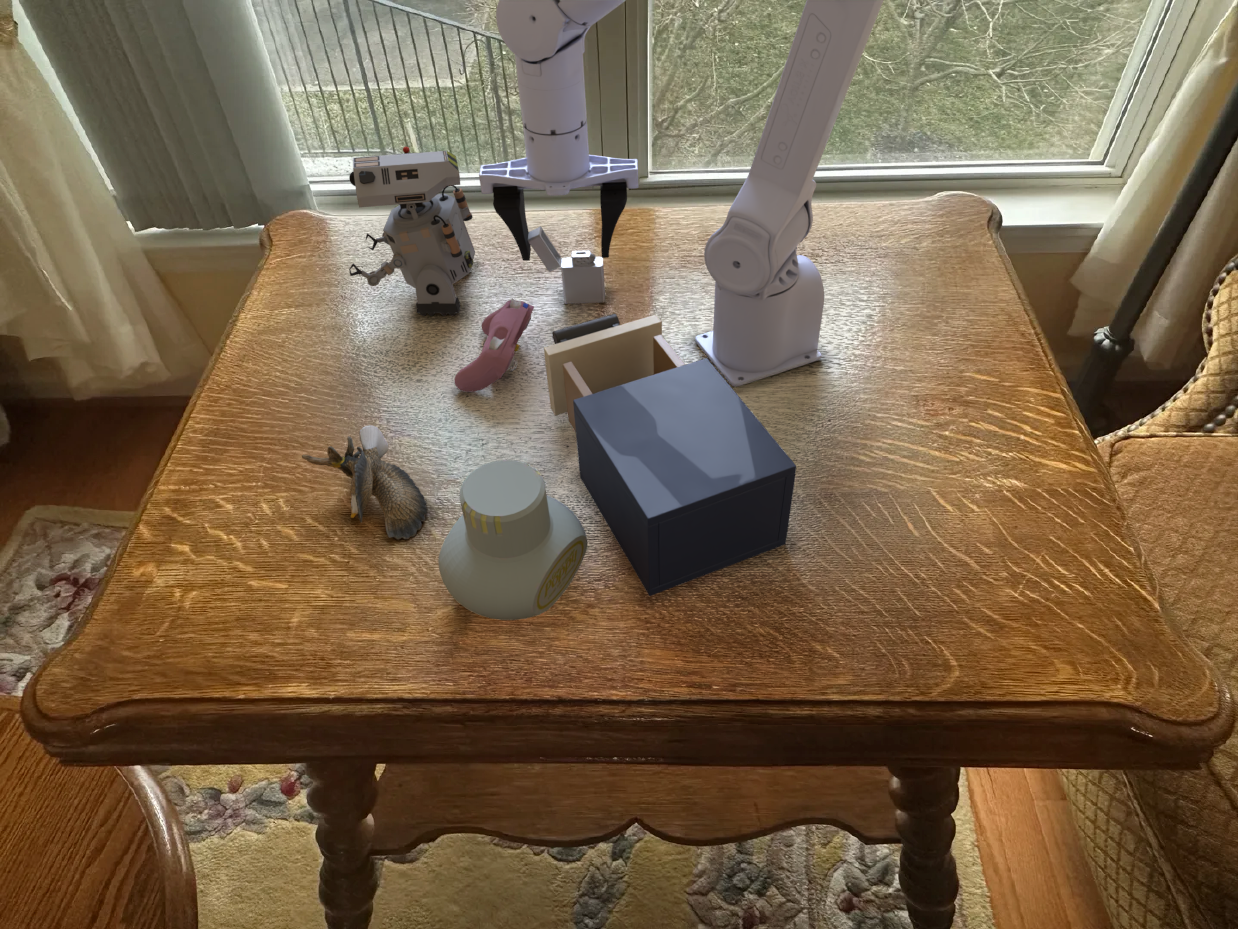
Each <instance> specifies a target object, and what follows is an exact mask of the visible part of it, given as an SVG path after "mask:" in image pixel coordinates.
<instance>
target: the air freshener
mask: <svg viewBox="0 0 1238 929" xmlns="http://www.w3.org/2000/svg"><path fill="white" fill-rule="evenodd" d="M458 496H459V502H460V508H461V511H462V514H461V515H460V517H459V518H458V519H457V520H456V522H455V523H454V524H453V526H452V527H451V529H450V530H449V532H448V534H447V535H446V537H445V538H444V541H443V543H442V544H441V548H440V550H439V554H438V559H437V563H438V571H439V575H440V578H441V581H442V583H443V585H444V587H445V588H446V590H447V592H448V593H449V595H450V596H451V597H452V598H453V599H454V600H455V601H456V602H457V603H458V604H460V606H462V607H464V608H465V609H466V610H468V611H470V612H471V613H474V614H476V615H478V616H481V617H484V618H488V619H491V620H497V621H498V620H500V621H519V620H525V619H529V618H533V617H537V616H539V615H542V614H544V613H546V612H547V611H549V609H551V608H552V607H553V606H554V605H555V604H556V603H557V601H559V599H560V598H561V597H563V596H562V595H563V594H564V593H565V592H566V590H567V589H568V588H569V586H570V584H571V583H572V581H573V580H574V578H575V577H576V575H577V573H578V571H579V570H580V567H581V565H582V563H583V561H584V559H585V556H586V553H587V549H588V537H587V533H586V530H585V528H584V525H583V524H582V522H581V520H580V519H579V517H577V515H576V514H575V512H574V511H572V510H571V509H570V507H568V506H567V505H566V504H564V503H563V502H561V501H560V500H558V499H557V498H555V497H553V496H550V495H548V493H547V489H546V483H545V479H544V477H543V475H542V474H541V473H540V471H539V470H538V469H536V468H535V467H533V466H531V465H530V464H529V463H526V462H524V461H518V460H515V459H499V460H494V461H490V462H486V463H485V464H482V465H480V466H479V467H477V468H475V469H474V470H472V471H471V472H470V473H469V474H468V475H467V476H466V478H464V480H463V481H462V484H461V486H460V489H459V495H458Z"/></svg>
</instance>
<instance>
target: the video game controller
mask: <svg viewBox="0 0 1238 929" xmlns="http://www.w3.org/2000/svg"><path fill="white" fill-rule="evenodd" d="M534 309H535V306H534V305H532V304H529V303H527V302H525V301H523V300H516V299H514V298H513V297H512V298H511V299H509V300H507V301H506V302H505V303H504V305H502V306H501V307H500V308H498V309H496V310H495V311H493V312H491V313H490V314H488V315H487V316H486V317H485V318H484V319H483V321H482V322H481V330H482V332H483V333H484V334H485V336H486V339H485V341H484V345H483V346H482V350H481V352H480V354H479V355H478V356H477V357H476V358H475V359H474V360H473V361H472V362H470V363H469V364H467V365H466V366H464V367H463V368H461V369H459V370H458V372H457V373H456V374H455V376H454V386H455V387H456V388H457V389H458V390H459V391H461V392H466V393H474V392H478V391H482V390H484V389H486V388H488V387H490V386H491V385H493V384H494V383H495V382H497V381H498V380H501V379H502V377H503V375H504V374H505V373H507V371H508V370H510V372H513V371H515V370H516V368H517V366H518V364H519V361H518V358H516V359H515V357H514V356H515V353H517V352H519V350H520V344H518V342H519V340H520V338H521V337H522V335H523V333H524V332H525V331H526V330H527V329H528V326H529V325H530V322H531V320H532V314H533V312H534V311H533V310H534Z"/></svg>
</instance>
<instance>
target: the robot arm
mask: <svg viewBox="0 0 1238 929" xmlns="http://www.w3.org/2000/svg"><path fill="white" fill-rule="evenodd" d="M626 1H627V0H498V1H497V5H496V11H495V22H496V26H497V29H498V33H499V35H500V37H501V39H502V41H503V42H504V44H505V46H506V47H507V48H508V49H509V51H511V53H513V54H514V59H515V70H516V77H517V88H518V97H519V106H520V115H521V123H522V131H523V142H524V148H525V149H524V150H525V157H522V158H518V159H512V160H509V161H504V162H497V163H492V164H480V166H479V172H478V179H479V184H480V191H481V194H482V195H491V194H493V202H492V206H493V209H494V211H495V213H496V214H497V215H498V217H500V219H501V220H502V221H503V223H504V224H505V225H506V227H507V228H508V230H509V231H510V233H511V235H512V236H513V239H514V240H515V243H516V245H517V247H518V249H519V253H520V256H521V259H522V261H523V262H530V261H531V252H532V249H531V248H532V246H531V245H530V244H529V242H528V234H529V232H530V230H529V226H528V222H527V215H526V205H525V191H524V190H531V189H532V190H533V189H534V190H541V191H545V193H546V195H548V196H565V195H568V194H570V190H574V189H579V188H583V187H584V188H586V187H599V188H600V190H599V191H600V194H599V196H600V198H599V202H600V217H601V234H600V240H601V241H600V242H601V244H600V247H601V248H600V249H601V250H600V252H601V257H602V258H603V259H609V257H610V247H611V243H612V238H613V235H614V232H615V229H616V227H617V224H618V221H619V219H620V218H621V215H622V213H623V212H624V210H625V209H626V208H625V207H626V205H627V202H628V189H638V188H639V162H638V159H637V158H617V157H609V156H604V155H603V156H602V155H595V154H590V148H589V133H588V132H589V130H588V118H587V116H588V115H587V101H586V100H587V99H586V97H587V96H586V82H585V68H584V66H585V65H584V53H585V52H586V49H585V48H586V46H585V45H586V44H585V38H586V35H587V34H588V31H589V30H590V28H591V27H592V26H593V25H594V24H596V23H597V22H599V21H600V20H601V19H603V18H604V17H605V16H607V15H608V14H610V13H611V12H612V11H614V10H615V9H617V8H618V7H619V6H621V5H622V4H623V3H625V2H626ZM884 1H885V0H805V4H804V7H803V10H802V13H801V15H800V19H799V22H798V25H797V28H796V31H795V34H794V37H793V40H792V44H791V46H790V49H789V52H788V55H787V58H786V61H785V64H784V67H783V70H782V73H781V76H780V79H779V82H778V85H777V88H776V91H775V94H774V97H773V100H772V103H771V105H770V109H769V112H768V115H767V117H766V121H765V124H764V127H763V130H762V133H761V136H760V139H759V142H758V145H757V148H756V151H755V154H754V157H753V160H752V163H751V166H750V169H749V172H748V174H747V176H746V178H745V180H744V183H743V185H742V186H741V188H740V189H739V191H738V193H737V195H736V197H735V199H734V200H733V202H732V204H731V205H730V207H729V209H728V212H727V215H726V217H725V220H724V223H723V224H722V225H721V227H719V228H718V229H717V230H716V231H715V232H713V233H712V234H711V235H710V237H709V238H708V240H707V241H706V243H705V247H704V251H703V253H704V254H703V256H704V257H703V258H704V264H705V266H706V269H707V271H708V273H709V275H710V277H711V278H712V279H713V280H714V299H713V300H714V302H713V303H714V304H713V326H712V327H713V328H712V330H711V331H708V332H705V333H701V334H698V335H695V338H694V341H695V343H696V345H697V346H698V347H699V349H701V351H702V352H703V353H704V354H705V355H706V356H707V359H708V360H709V361H710V362H711V363H712V365H713V366H714V367H715V368H716V369H717V371H718V372H719V373H720V374H721V375H722V377H723V378H724V379H725V380H726V381H727V383H728V384H729V385H730V386H731V387H740V386H744V385H746V384H750V383H753V382H756V381H759V380H762V379H766V378H768V377H771V376H774V375H778V374H781V373H785V372H787V371H791V370H792V369H796V368H799V367H801V366H802V367H803V366H805V365H808V364H811V363H814V362H818V361H820V360H821V359H822V353H821V351H820V350H819V349H818V348H819V341H820V340H819V339H820V333H821V326H822V319H823V312H824V305H825V288H824V282H823V279H822V276H821V274H820V272H819V268H817V266H816V264H815V263H814V262H813V261H812V260H811V259H810V258H809V257H808V256H805V255H803V254H797V251H798V246H799V244H800V243H802V242H803V241H804V240H805V238H806V237H807V236H808V235H809V234H810V232H811V230H812V226H813V223H814V214H813V207H812V200H813V197H814V196H813V195H814V193H815V191H816V188H817V182H816V180H814V176H815V175H816V172H817V169H818V167H819V165H820V162H821V159H822V157H823V154H824V151H825V149H826V147H827V145H828V143H829V142H828V141H829V139H830V137H831V134H832V131H833V129H834V126H835V124H836V121H837V119H838V117H839V115H840V111H841V109H842V106H843V104H844V101H845V99H846V97H847V94H848V91H849V89H850V86H851V83H852V81H853V79H854V76H855V74H856V71H857V69H858V66H859V63H860V62H861V58H862V56H863V54H864V50H865V49H866V46H867V43H868V41H869V39H870V36H871V34H872V32H873V29H874V26H875V24H876V21H877V18H878V16H879V13H880V10H881V9H882V6H883V3H884Z"/></svg>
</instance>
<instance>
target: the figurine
mask: <svg viewBox="0 0 1238 929" xmlns="http://www.w3.org/2000/svg"><path fill="white" fill-rule="evenodd" d="M410 150H411V149H410V147H408V146H404V147H402V152H403V153H396V154H384V155H382V154H381V155H371V156H357V157H352V170H353V171H351V172H350V174H349V178H348V179H349V183H350V184H351V185H352V186H353V187H355V194H356V199H357V205H358V208H371V207H382V206H394V205H395V206H394V208H392V209H391V210H390V212H389V214H388V217H387V219H386V222H385V224H384V227H383V229H382V231H383V232H382V235H381V237H376V238H375V237H374V236H372V235H371V234H369V233H368V232H367V233H366V236H365V240H367V239H368V238H370V239H371V240H372V241H373V244H372V247H370V246H367V248H368V249H370V250H371V251H374V250H375V248H376V247H377V244H381V243H385V244H386V245H387V246H389V247H390V250H391V252H392V254H393V255H392V258H391V260H390V261H389V262H388V261H387V260H386V261H384V262H382V264H381V265H380V267H378V268H377V269H375V270H372V271H370V272H367V271H365V270H361V269H359V267H358V266H357V265H356V264H355V263H354V262H353V263H351V266H350V267H349V269H348V271H349V276H350V277H353V276H356V275H357V276H360V275H361V276H362V277H363V278H365V279H366V281H367V284H368V286H370V287H375V286H378V285H379V284H380V282H381V280H382V279H384V278H386V277H387V276H391V275H392V274H393V273H395V270H396V269H397V270H400V271H401V274H402V276H403V278H404V281H405V283H406V285H408V286H410V287H412V288H414V289H415V298H416V303H415V310H416V314H419V315H420V316H422V317H425V316H426V315H427V314H428V316H431V317H433V316H434V315H435V314H440V315H441V316H442V317H443V316H444V317H445V316H447V315H449V316H452V317H453V316H455V315H456V314H460V311H461V306H462V305H461V303H460V300H459V297H457V295H456V292H455V287H454V284H455V283H457V282H459V280H462V279H463V278H464V277H466V276H468V275H469V274H470V273H471V270H472V268H473V265H474V259H475V255H476V250H475V247H474V244H473V242H472V239H471V235H470V233H469V231H468V228H467V225H466V222H469V221H471V220H472V219H473V218H474V216H473V214H472V213H471V210H470V207H469V204H468V202H467V198H466V196H465V194H464V191H463V188H462V187H461V188H459V187H458V188H457V186H461V176H460V169H459V165H458V159H457V156H456V155H455V154H453V153H451V152H449V151H448V150H438V151H423V152H410ZM449 187H452V188H454V190H453V191H452V193H453V196H451V195H450V194H449V195H448V194H447V193H445V190H446V189H447V188H449ZM440 192H441V193H440ZM352 268H354V269H355V271H353V272H352V271H351V269H352Z"/></svg>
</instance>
